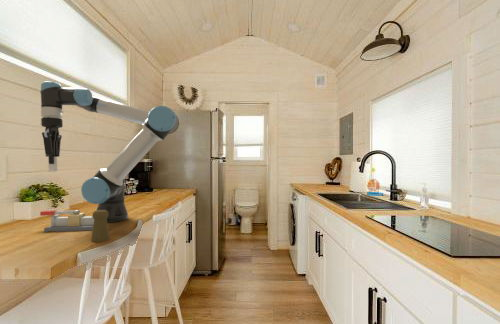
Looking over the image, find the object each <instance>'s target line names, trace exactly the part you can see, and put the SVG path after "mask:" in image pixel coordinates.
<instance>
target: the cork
mask: <svg viewBox="0 0 500 324" xmlns="http://www.w3.org/2000/svg"><path fill="white" fill-rule="evenodd" d="M96 210H97V209H96ZM96 210H95V211H93V213H92V216H93V219H94V225H93V230H91V232H92V233H91V238H90V239H91V240H90V241H91V242H93V243H101V242H107V241H109V240H110V234H109V226H108V222H107V217H108V211H106V210H97V211H96Z"/></svg>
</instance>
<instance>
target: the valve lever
mask: <svg viewBox="0 0 500 324" xmlns="http://www.w3.org/2000/svg"><path fill="white" fill-rule="evenodd" d="M79 213H81V210H80V209H77V210H75V209H74V210H71V209H70V210H57V209H53V210H42V211H40V212H39V214H40V215H39V216H40V217H41V216H42V217H43V216H54V215H70V214H79Z"/></svg>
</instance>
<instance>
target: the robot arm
mask: <svg viewBox="0 0 500 324" xmlns="http://www.w3.org/2000/svg"><path fill="white" fill-rule="evenodd" d="M39 93H40V104H41V105H40V116H41V117H42V118H41V119H40V122H41V124H40V125H41V127H43V128H45V129H44V131H43V132H42V133H41V135H42V139H43V145H44V154H45V157H47V158H48V159H47V160H48V172H52V173H53V172H58V158H59V157H60V154H61V140H62V137H63V136H62V134H60V130H59V129H61V128H62V127H63V119H62V118H63V113H64V111H63V106H76V107H78V108H80V109H81V108H82V109H83V110H85V111H86V112H87V111H88V112H91V113H97V114H101V115H105V116H108V117H113V118H116V119H120V120H123V121H127V122H131V123H136V124H139V125H142V126H141V127H142V129H141V130H139V132H138V133H137V134H136V135H135V137H133V139H132V140H130V142H129V143H128V144H127V145H126V146H125V147H124V148H123V149H122V150H121V151H120V152H119V154H117V155H116V157H115V158H114V159H113V160H112V161H111V162H110V164H108V166H106V167H104V168H100V169H99V170H98V171H97V172H96V173H95V174H94V175H93V176H92V177H90V178H87V179H86V180H85V181H84V182H83V183H82V186H81V189H80V190H81V195H82V198H83V199H84V200H85V201H86V202H88V203H90V204H93V205H97V207H96V210H95V211H97V210H106V211H108V217H107V223H116V222H123V221H124V220H125V221H126V220H128V218H129V212H128V210H127V207H126V204H125V182H126V180H125V177H127V175H128V174H129V173H130V172H131V171H132V170H133V169H134V168H135V167H136V166H137V164H138V163H140V161H141V160H142V159H143V158H144V157H145V156H146V155H147V153H148V152H149V151H150V150H152V148H153V147H154V146H155V144H156V143H158V142H162V141H164V140H165V138H167V136H169V135H170V134H171V135H172V134H174V133H175V132H176V131H178V129H179V126H180V120H179V118H178V115H176V113H175V111H174V110H173V109H172V108H170V107H168V106H166V105H158V106H154V107H153V108H151V109H150V110H146V109H142V108H139V107H135V106H131V105H129V104H128V105H127V104H124V103H120V102H117V101H113V100H110V99H105V98H101V97H97V96H94V95H93V93H92V92H91V89H88V88H83V87H63V86H62V84H61V83H58V82H55V81H43V82H42V83H41V85H40V92H39Z"/></svg>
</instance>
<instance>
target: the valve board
mask: <svg viewBox="0 0 500 324" xmlns="http://www.w3.org/2000/svg"><path fill="white" fill-rule="evenodd" d="M60 215H61V214H55V215H50V216H51V217H50V225H48V226H45V227H44V228H43V232H44V233H47V232H48V231H56V232H79V231H80V232H81V231H82V232H84V231H93V225H94V219H93V215H92V216H91V215H89V216H88V215H87V216H86V212H80V213H79V214H67V216H60ZM48 233H49V232H48Z"/></svg>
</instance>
